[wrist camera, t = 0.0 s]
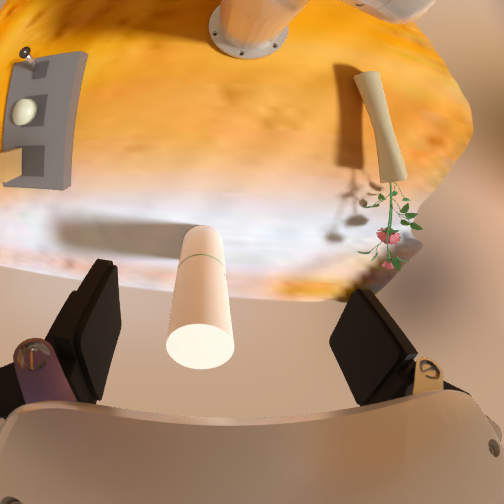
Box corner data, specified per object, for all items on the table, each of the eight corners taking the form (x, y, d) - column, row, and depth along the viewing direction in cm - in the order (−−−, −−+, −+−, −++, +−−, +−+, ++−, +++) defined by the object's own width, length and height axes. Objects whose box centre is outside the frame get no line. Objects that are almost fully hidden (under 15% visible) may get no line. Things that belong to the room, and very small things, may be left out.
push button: (20, 100, 26) (14, 100, 24) (38, 97, 27) (32, 97, 25) (17, 124, 28) (11, 126, 26) (35, 123, 29) (28, 124, 27)
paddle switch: (14, 148, 31) (-2, 153, 27) (22, 147, 31) (5, 152, 27) (14, 174, 33) (-1, 182, 29) (21, 174, 34) (5, 182, 29)
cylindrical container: (190, 265, 51) (182, 373, 29) (177, 231, 47) (154, 332, 25) (227, 255, 51) (241, 361, 29) (216, 220, 47) (222, 316, 25)
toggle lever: (35, 64, 25) (21, 45, 18) (43, 62, 25) (29, 43, 19) (30, 73, 25) (15, 55, 18) (38, 72, 25) (23, 53, 19)
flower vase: (357, 88, 45) (392, 246, 55) (311, 89, 42) (354, 267, 51) (399, 73, 35) (434, 256, 44) (354, 66, 31) (399, 282, 41)
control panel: (22, 64, 26) (12, 63, 23) (88, 54, 29) (79, 50, 26) (11, 182, 36) (1, 187, 33) (70, 185, 40) (62, 191, 37)
